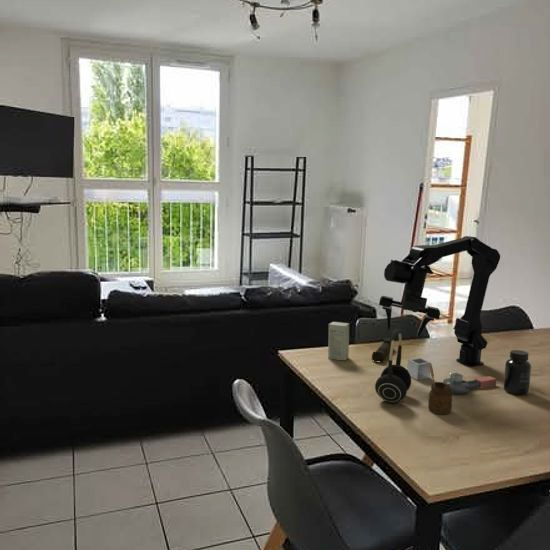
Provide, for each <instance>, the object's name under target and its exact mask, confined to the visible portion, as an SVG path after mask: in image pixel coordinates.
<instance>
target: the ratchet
mask: <svg viewBox="0 0 550 550" xmlns="http://www.w3.org/2000/svg"><path fill="white" fill-rule="evenodd" d="M451 373H452V375H451V374H450V375H451V376H450V375H449V377H446V378H444V379H443V381H442V382H443V383H447V384H449V385H450V386H451V388H452V391H451V393H452V396H453V395H454V396H466V395H468V394H469V391H471V390H474V389H482V388H488V387H493V386H496V384H497V378H496V377H492V376H490V375H488V376H482V377H476V378H474V379H473V380H468V381H466V380H464V374H463V375H462V374H460V373H458V372H451ZM451 379H454V380H451ZM444 380H446V382H445V381H444ZM451 382H452V383H451Z"/></svg>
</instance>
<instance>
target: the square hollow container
mask: <svg viewBox="0 0 550 550" xmlns="http://www.w3.org/2000/svg"><path fill="white" fill-rule="evenodd" d="M431 364H432V362H431V361H429V360H426V359H425V358H423V357H417V358H416V357H415V358H410V359H407V367H406V369H407V370H408V372H409V373H410V376H411V379H414V380H416V381H420V380H421V381H422V380H426V379H430V378H431V371H430V365H431Z"/></svg>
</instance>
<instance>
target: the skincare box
mask: <svg viewBox="0 0 550 550" xmlns="http://www.w3.org/2000/svg"><path fill="white" fill-rule="evenodd" d="M349 347H350V323H349V322H341V321H340V322H339V321H332V322H330V323H328V347H327V348H328V349H327V351H328V352H327V353H328V357H327V358H328V359H329V360H330V359H331V360H336V361H346V360H348V358H349V351H350V350H349V349H350V348H349Z"/></svg>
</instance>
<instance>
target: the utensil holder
mask: <svg viewBox="0 0 550 550" xmlns="http://www.w3.org/2000/svg"><path fill="white" fill-rule="evenodd" d="M430 371H431V373H430V378H431V379H432V384H431V385H430V391H429V393H428V402H427V403H428V405H427V406H428V410H429V411H430V412H432V413H433V414H437V415H448V414H450V413H451V412H452V407H453V406H452V405H453V404H452V403H453V394H452V393H451V391H452V388H451V386H450V385H449V384H447V383H443V381H435V374H434V369H433V364H432V363H431V365H430ZM452 373H453V372H446V374H445V375H449V377H450V376H451V375H452ZM444 379H446V376H444ZM444 379H443V380H444ZM451 380H454V379H451ZM444 381H445V382H446V380H444ZM451 383H452V382H451Z"/></svg>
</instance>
